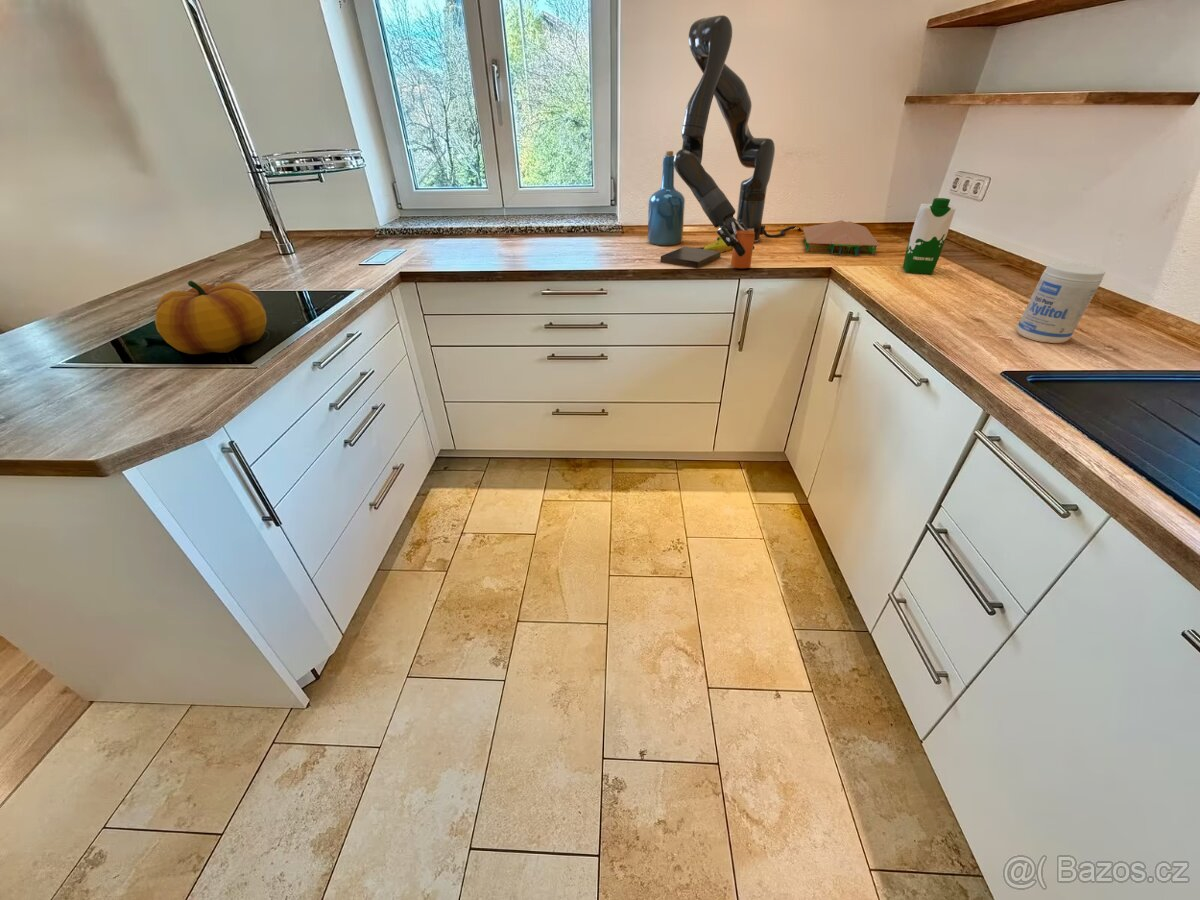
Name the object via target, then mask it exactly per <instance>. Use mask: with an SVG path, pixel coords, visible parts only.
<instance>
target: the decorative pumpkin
mask: <svg viewBox="0 0 1200 900" xmlns="http://www.w3.org/2000/svg"><path fill="white" fill-rule="evenodd" d="M187 285H188V286H189V287H191V288H190V289H189V290H172V291H169V292H167V293H164V294H163V295H162V296H161V298H160V299H159V300H158V302H157V305H156V309H155V317H154V324H155V328H156V331H157V333H158V334H159V336H161V337H162V339H163V340H164V341H165V342H166V343H167V345H169V346H171V347H172V348H174V349H175V350H176V351H179V352H182V353H184V354H188V355H206V354H209V353H217V354H228V353H230V352H232V351H235V350H236V349H237V348H239V347H243V346H248V345H251V344H254V343H256V342H257V341H259V340H261V338H262V337H263V335H264V334H265V331H266V326H267V322H268V320H267V314H266V313H267V312H266V309H265V308H264V305H263V303H262V301H261V300H260V298H259V297H258V295H256V294H255V293H254V292H253V291H251V290H250V289H249V288H248V287H247V286H245V285H243V284H241V283H237V282H224V283H221V284H218V285H211V284H205V283H197V282H195V281H193V280H189V281H188V282H187Z"/></svg>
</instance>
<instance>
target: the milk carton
mask: <svg viewBox="0 0 1200 900" xmlns="http://www.w3.org/2000/svg"><path fill="white" fill-rule="evenodd" d="M950 202H951V199H950V198H946V197H945V198H944V197H935V198H933V200H932V203H920V206H919V208H918V211H917V214H916V216H915V221H914V223H913V227H912V230H911V234H910V236H909V240H908V243H907V246H906V250H905V254H904V259H903V265H902V268H903V270H904V271H905V273H906V274H918V275H919V274H920V275H921V274H922V275H933V274H934V273H933V272H934V271H935V268H936V266H937V263H938V261H939V259H940V257H941V254H942V250H943V248H944V244H945V242H946V239H947V236H948V233H949V230H950V227H951V224H952V221H953V218H954V215H955V212H956V208H955V207H954V205H951V204H950Z"/></svg>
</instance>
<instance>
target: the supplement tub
mask: <svg viewBox="0 0 1200 900" xmlns="http://www.w3.org/2000/svg"><path fill="white" fill-rule="evenodd" d="M1105 274H1106V270H1105V269H1104V268H1102V267H1099V266H1096V265H1092V264H1088V263H1082V262H1073V261H1052V262H1049V263H1048V264H1047V266H1046V267H1045V269H1044V271H1043V272H1042V274H1041V276H1040V278H1039V280H1038V282H1037V284H1036V286H1035V288H1034V291H1033V292H1032V294H1031V297H1030V299H1029V301H1028V302H1027V305H1026V307H1025V309H1024V311H1023V313H1022V315H1021V317H1020V319H1019V322H1018V324H1017V326H1016V332H1017V333H1018V334H1019V335H1020V336H1022V337H1024V338H1026V339H1029V340H1033V341H1036V342H1041V343H1050V344H1061V343H1065V342H1067V341H1069V340H1070V339H1071V338H1072V336H1073V334H1074V332H1075V330H1076V329H1077V327H1078V325H1079V323H1080V322H1081V320H1082V318H1083V316H1084V314H1085V312H1086V311H1087V309H1088V307H1089V305H1090V303H1091V302H1092V300H1093V298H1094V296H1095V294H1096V293H1097V291H1098V288H1100V285H1101V284H1102V281H1103V280H1104V276H1105Z"/></svg>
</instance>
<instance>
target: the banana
mask: <svg viewBox="0 0 1200 900" xmlns="http://www.w3.org/2000/svg"><path fill="white" fill-rule="evenodd" d="M728 242H729V241H728ZM698 248H699V249H706V250H713V251H721V253H725V252H728V251H731V249H733V247H731V246H729V247H728V246H727V245H726V244H725V242H724V241H723V240H722V238H721V237H720V236H718V237H717V239H716V241H715V242H712V243H709V244H707V245H705V246H700V247H698Z"/></svg>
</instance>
